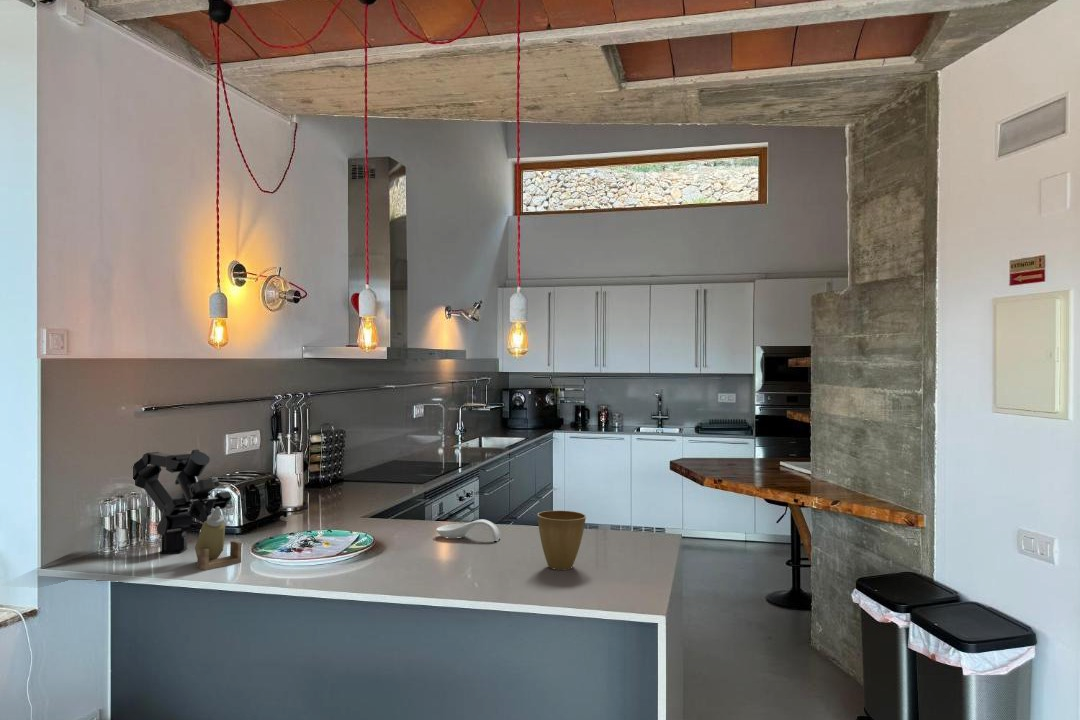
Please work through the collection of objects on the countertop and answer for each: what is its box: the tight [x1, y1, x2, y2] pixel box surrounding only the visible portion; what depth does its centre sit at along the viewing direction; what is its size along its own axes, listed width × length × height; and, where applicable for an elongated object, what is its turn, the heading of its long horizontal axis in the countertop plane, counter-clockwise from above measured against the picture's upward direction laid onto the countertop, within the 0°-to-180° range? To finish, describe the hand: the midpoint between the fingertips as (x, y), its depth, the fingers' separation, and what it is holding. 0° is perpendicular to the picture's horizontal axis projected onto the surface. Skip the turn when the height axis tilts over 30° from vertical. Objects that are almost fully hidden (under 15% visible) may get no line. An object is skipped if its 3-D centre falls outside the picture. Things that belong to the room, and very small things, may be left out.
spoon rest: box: [436, 518, 502, 541], centre depth 255 cm, size 24×12×7 cm, turn 73°
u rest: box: [196, 540, 243, 571], centre depth 217 cm, size 4×12×6 cm, turn 144°
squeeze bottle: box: [194, 507, 226, 560], centre depth 218 cm, size 8×8×18 cm
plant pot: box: [536, 510, 587, 570], centre depth 218 cm, size 15×15×16 cm
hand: (209, 524), depth 220 cm, fingers closed
